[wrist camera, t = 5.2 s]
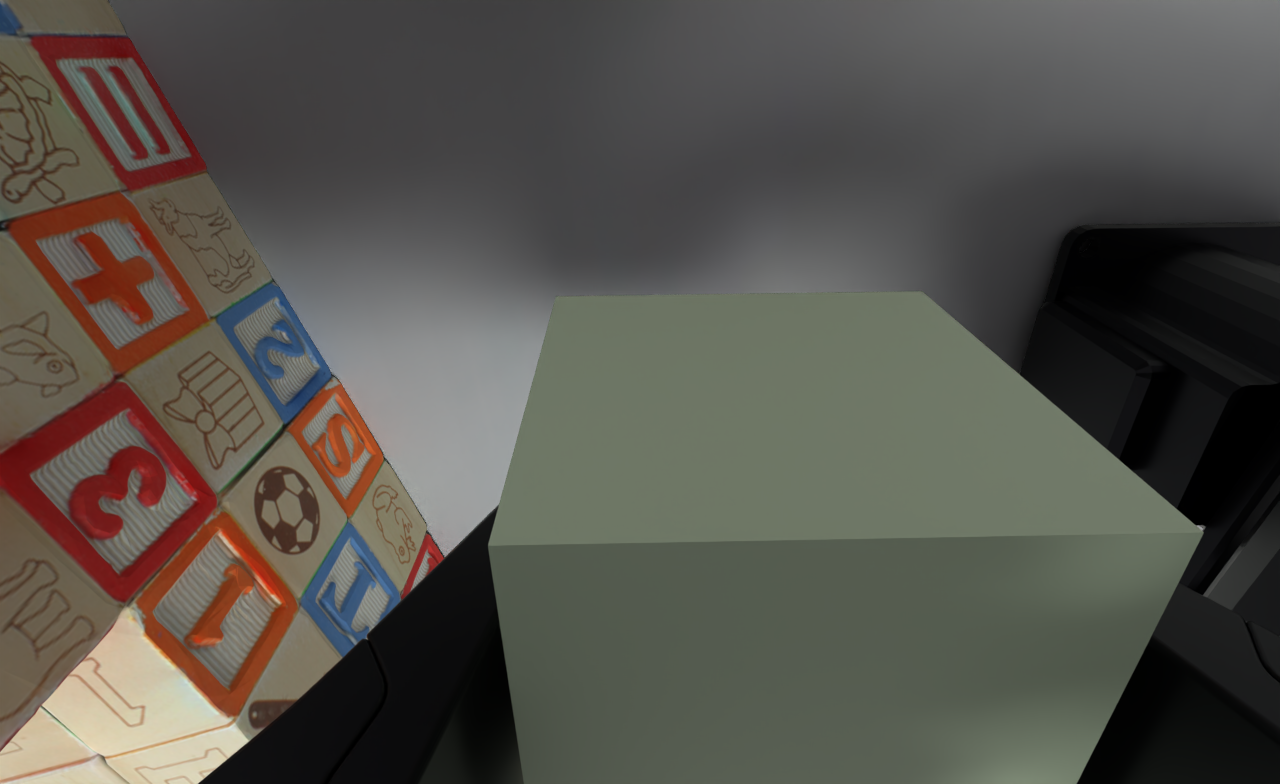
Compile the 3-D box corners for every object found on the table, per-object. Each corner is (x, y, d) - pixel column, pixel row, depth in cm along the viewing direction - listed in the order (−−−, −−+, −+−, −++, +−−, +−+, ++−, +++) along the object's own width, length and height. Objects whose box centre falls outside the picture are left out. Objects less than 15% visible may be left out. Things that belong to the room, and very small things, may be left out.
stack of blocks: (475, 591, 23) (342, 1070, 12) (319, 632, 24) (67, 1115, 13) (34, -128, 14) (-2231, -764, 3) (-199, -17, 15) (-2622, -179, 4)
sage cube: (921, 291, 9) (1202, 531, 5) (865, 567, 11) (1016, 901, 7) (556, 296, 9) (488, 545, 5) (575, 573, 11) (543, 913, 7)
